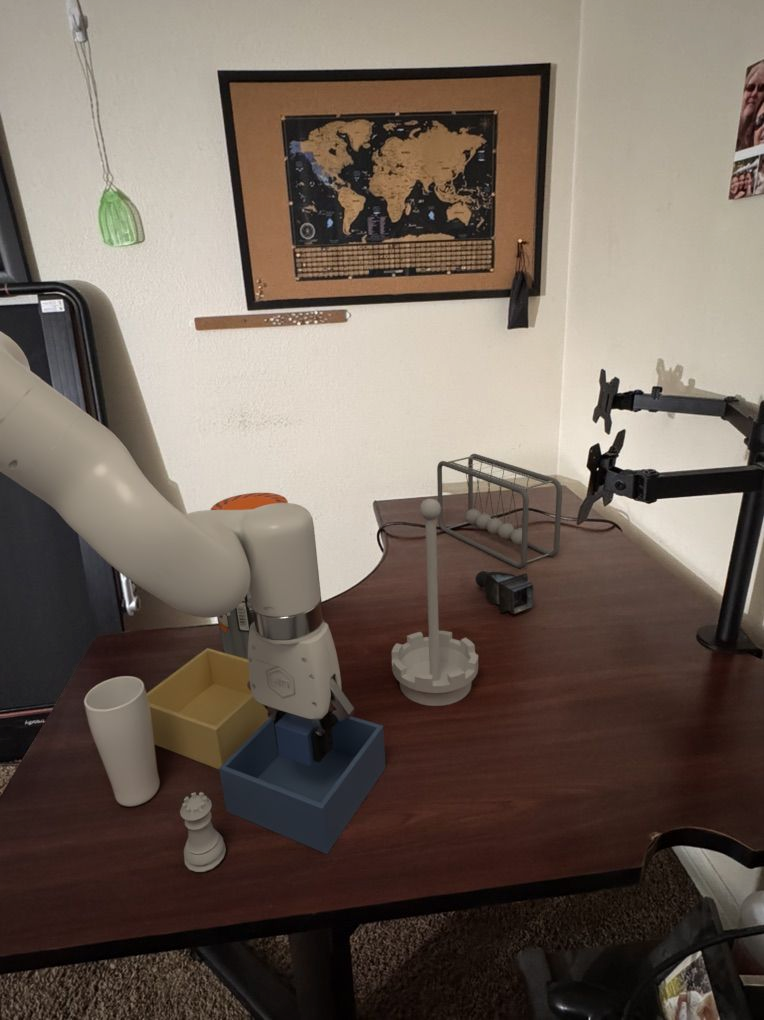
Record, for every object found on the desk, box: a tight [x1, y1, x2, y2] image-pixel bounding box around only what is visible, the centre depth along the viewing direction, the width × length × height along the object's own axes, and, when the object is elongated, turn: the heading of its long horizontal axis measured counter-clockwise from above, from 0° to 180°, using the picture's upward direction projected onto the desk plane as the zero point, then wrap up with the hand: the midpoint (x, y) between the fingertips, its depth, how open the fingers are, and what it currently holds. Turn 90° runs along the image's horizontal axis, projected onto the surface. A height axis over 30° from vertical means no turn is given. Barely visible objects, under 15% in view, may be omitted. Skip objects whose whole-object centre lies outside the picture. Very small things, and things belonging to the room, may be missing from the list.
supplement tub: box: [210, 492, 289, 659], centre depth 105 cm, size 16×16×26 cm
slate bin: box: [218, 715, 387, 855], centre depth 77 cm, size 14×14×7 cm
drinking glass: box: [83, 675, 161, 807], centre depth 76 cm, size 7×7×15 cm
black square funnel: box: [475, 570, 534, 615], centre depth 118 cm, size 6×13×6 cm, turn 30°
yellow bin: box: [146, 647, 269, 770], centre depth 89 cm, size 14×14×7 cm
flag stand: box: [391, 498, 479, 707], centre depth 91 cm, size 13×13×30 cm
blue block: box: [275, 712, 315, 766], centre depth 75 cm, size 4×4×4 cm
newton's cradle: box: [436, 453, 563, 569], centre depth 142 cm, size 30×10×18 cm, turn 32°
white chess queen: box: [179, 791, 227, 873], centre depth 68 cm, size 4×4×8 cm
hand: (304, 746), depth 75 cm, fingers closed on blue block, 4 cm apart
